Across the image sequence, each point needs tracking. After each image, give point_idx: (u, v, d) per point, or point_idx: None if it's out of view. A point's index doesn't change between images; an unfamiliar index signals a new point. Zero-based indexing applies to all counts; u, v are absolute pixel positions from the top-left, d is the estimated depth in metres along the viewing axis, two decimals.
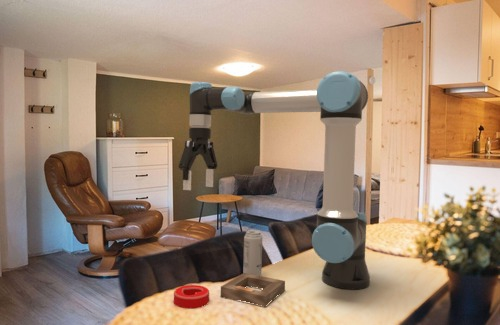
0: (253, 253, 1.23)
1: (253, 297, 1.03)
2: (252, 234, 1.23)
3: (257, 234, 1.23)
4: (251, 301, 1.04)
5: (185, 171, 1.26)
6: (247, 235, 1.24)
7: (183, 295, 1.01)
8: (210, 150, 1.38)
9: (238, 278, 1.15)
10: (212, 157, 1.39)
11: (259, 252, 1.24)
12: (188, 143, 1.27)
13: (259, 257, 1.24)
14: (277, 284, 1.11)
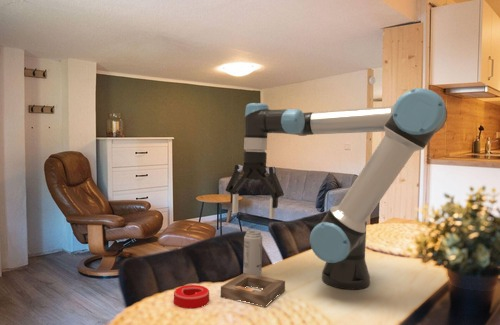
0: (253, 253, 1.23)
1: (253, 297, 1.03)
2: (252, 234, 1.23)
3: (257, 234, 1.23)
4: (251, 301, 1.04)
5: None
6: (247, 235, 1.24)
7: (183, 295, 1.01)
8: None
9: (238, 278, 1.15)
10: None
11: (259, 252, 1.24)
12: None
13: (259, 257, 1.24)
14: (277, 284, 1.11)
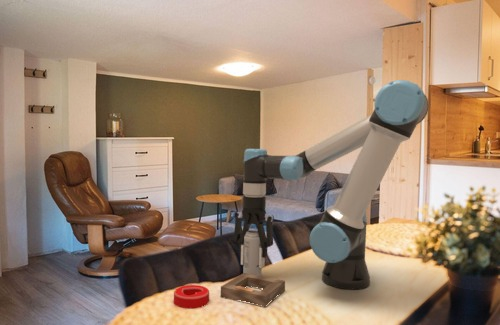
0: (253, 253, 1.23)
1: (253, 297, 1.03)
2: (252, 234, 1.23)
3: (257, 234, 1.23)
4: (251, 301, 1.04)
5: None
6: (247, 235, 1.24)
7: (183, 295, 1.01)
8: None
9: (238, 278, 1.15)
10: None
11: None
12: None
13: None
14: (277, 284, 1.11)
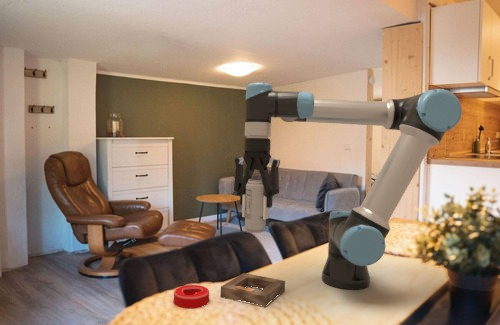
0: (257, 202, 1.07)
1: (253, 297, 1.03)
2: (255, 181, 1.08)
3: (261, 181, 1.08)
4: (251, 301, 1.04)
5: None
6: (249, 182, 1.08)
7: (183, 295, 1.01)
8: None
9: (238, 278, 1.15)
10: None
11: None
12: None
13: None
14: (277, 284, 1.11)
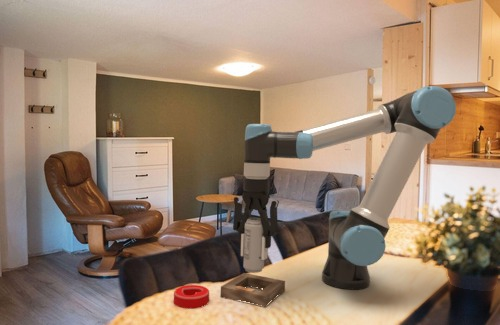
0: (255, 242, 1.08)
1: (253, 297, 1.03)
2: (254, 221, 1.08)
3: (259, 221, 1.08)
4: (251, 301, 1.04)
5: None
6: (248, 222, 1.09)
7: (183, 295, 1.01)
8: None
9: (238, 278, 1.15)
10: None
11: None
12: None
13: None
14: (277, 284, 1.11)
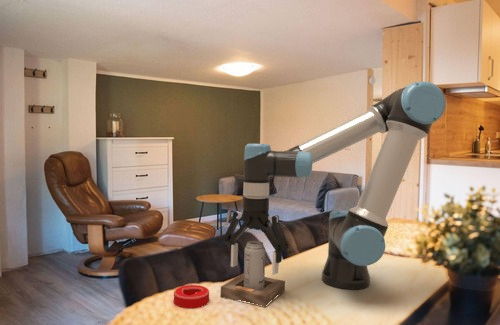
0: (255, 267, 1.08)
1: (253, 297, 1.03)
2: (254, 246, 1.08)
3: (259, 246, 1.09)
4: (251, 301, 1.04)
5: None
6: (248, 247, 1.09)
7: (183, 295, 1.01)
8: None
9: (238, 278, 1.15)
10: None
11: (262, 266, 1.09)
12: None
13: (262, 272, 1.09)
14: (277, 284, 1.11)
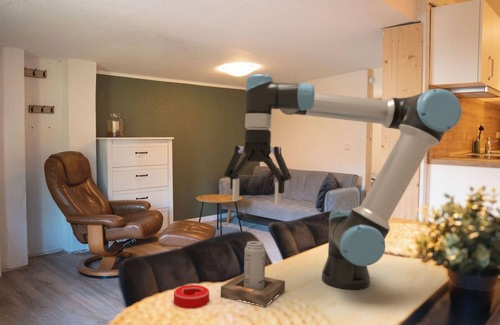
0: (255, 267, 1.08)
1: (253, 297, 1.03)
2: (254, 246, 1.08)
3: (259, 246, 1.09)
4: (251, 301, 1.04)
5: None
6: (248, 247, 1.09)
7: (183, 295, 1.01)
8: None
9: (238, 278, 1.15)
10: None
11: (262, 266, 1.09)
12: None
13: (262, 272, 1.09)
14: (277, 284, 1.11)
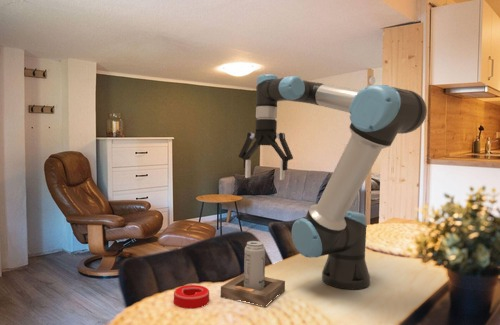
0: (255, 267, 1.08)
1: (253, 297, 1.03)
2: (254, 246, 1.08)
3: (259, 246, 1.09)
4: (251, 301, 1.04)
5: None
6: (248, 247, 1.09)
7: (183, 295, 1.01)
8: None
9: (238, 278, 1.15)
10: None
11: (262, 266, 1.09)
12: None
13: (262, 272, 1.09)
14: (277, 284, 1.11)
